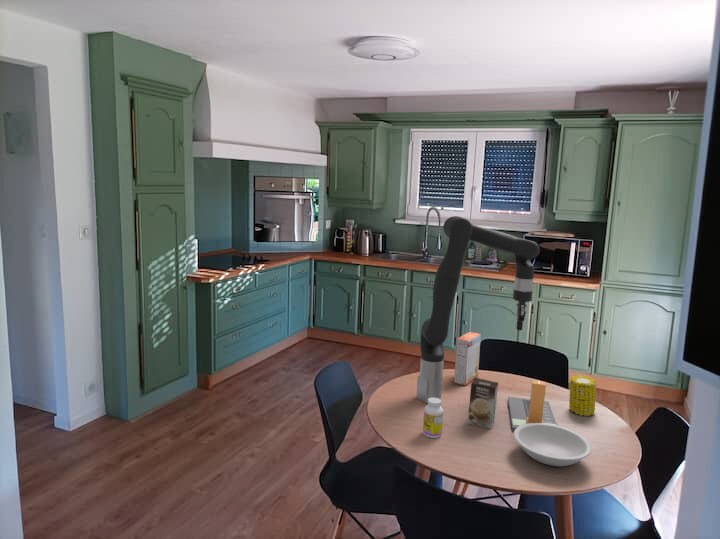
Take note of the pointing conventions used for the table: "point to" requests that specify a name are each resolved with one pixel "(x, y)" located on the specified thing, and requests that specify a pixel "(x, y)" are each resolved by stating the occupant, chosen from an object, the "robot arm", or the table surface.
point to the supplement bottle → (433, 418)
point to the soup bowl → (552, 443)
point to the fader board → (526, 412)
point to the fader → (536, 402)
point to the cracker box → (467, 358)
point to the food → (582, 395)
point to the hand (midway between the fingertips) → (519, 329)
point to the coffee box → (482, 403)
